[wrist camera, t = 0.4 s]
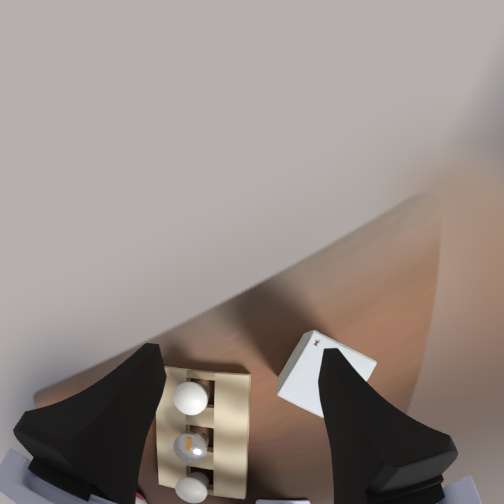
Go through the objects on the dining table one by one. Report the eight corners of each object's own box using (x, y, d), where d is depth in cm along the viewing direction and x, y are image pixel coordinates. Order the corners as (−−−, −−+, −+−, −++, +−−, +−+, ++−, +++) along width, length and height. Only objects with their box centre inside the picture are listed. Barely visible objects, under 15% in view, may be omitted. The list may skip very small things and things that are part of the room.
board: (246, 493, 30) (244, 499, 28) (164, 479, 31) (159, 484, 29) (250, 373, 36) (249, 375, 34) (162, 365, 37) (156, 366, 36)
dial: (213, 454, 30) (205, 466, 26) (183, 450, 31) (172, 460, 27) (213, 428, 32) (205, 438, 28) (183, 424, 32) (172, 432, 28)
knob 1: (213, 410, 32) (205, 417, 29) (183, 406, 33) (172, 412, 29) (214, 380, 34) (206, 384, 30) (184, 377, 34) (173, 380, 30)
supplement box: (276, 377, 36) (273, 394, 24) (304, 331, 37) (314, 326, 25) (322, 401, 34) (340, 427, 22) (349, 355, 35) (379, 360, 23)
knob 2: (213, 493, 28) (206, 505, 24) (185, 487, 29) (175, 499, 25) (213, 471, 29) (205, 482, 26) (184, 466, 30) (174, 476, 26)
